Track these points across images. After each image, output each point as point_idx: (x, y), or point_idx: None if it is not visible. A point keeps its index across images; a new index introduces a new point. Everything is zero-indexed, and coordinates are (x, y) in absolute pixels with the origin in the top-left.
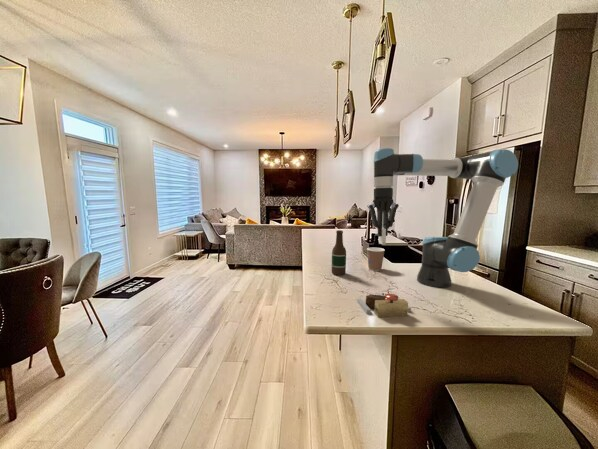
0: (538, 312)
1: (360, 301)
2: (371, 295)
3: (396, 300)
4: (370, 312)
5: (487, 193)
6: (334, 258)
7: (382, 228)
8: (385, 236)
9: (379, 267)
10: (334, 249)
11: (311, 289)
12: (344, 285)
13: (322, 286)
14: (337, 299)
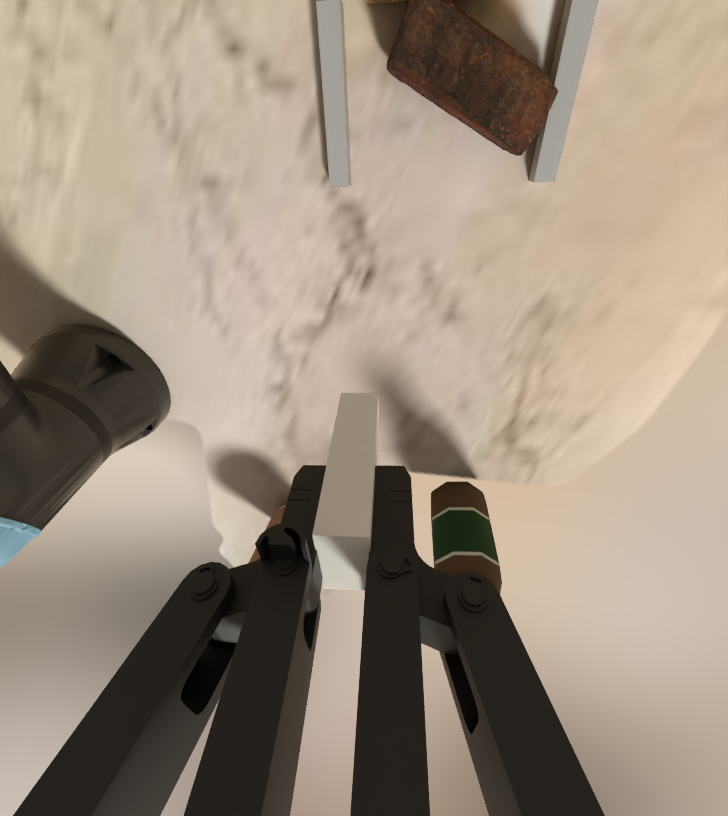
0: None
1: (561, 134)
2: (520, 108)
3: None
4: None
5: None
6: (493, 549)
7: (345, 568)
8: (333, 449)
9: (283, 512)
10: (499, 593)
11: (676, 359)
12: (496, 387)
13: (602, 386)
14: (629, 226)
